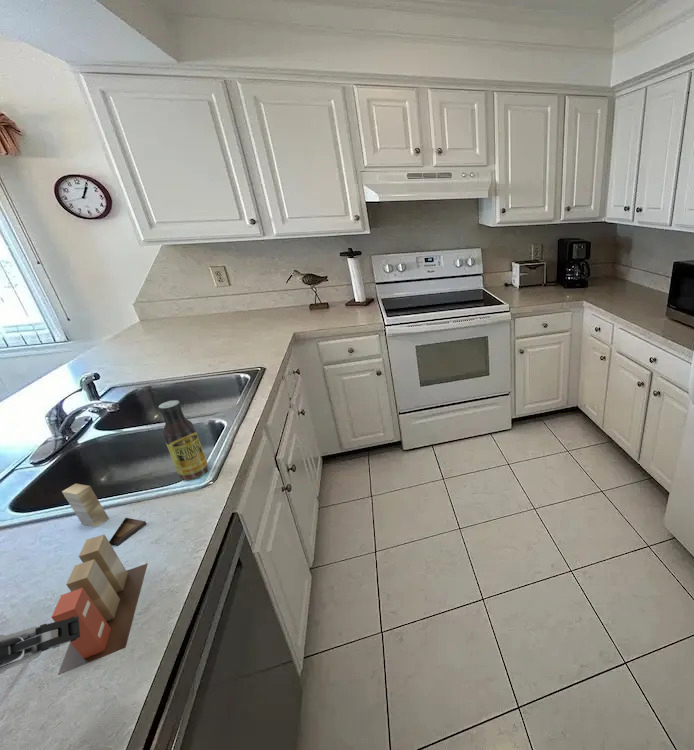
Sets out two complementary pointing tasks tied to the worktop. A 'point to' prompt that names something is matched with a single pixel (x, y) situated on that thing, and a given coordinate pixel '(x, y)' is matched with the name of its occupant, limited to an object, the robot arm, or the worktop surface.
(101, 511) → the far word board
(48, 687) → the worktop surface
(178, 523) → the worktop surface
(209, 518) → the worktop surface
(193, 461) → the sauce bottle
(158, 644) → the worktop surface
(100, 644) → the orange brick
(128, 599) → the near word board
